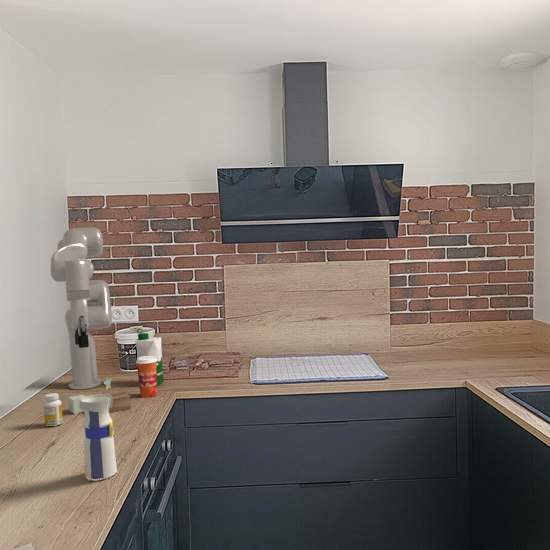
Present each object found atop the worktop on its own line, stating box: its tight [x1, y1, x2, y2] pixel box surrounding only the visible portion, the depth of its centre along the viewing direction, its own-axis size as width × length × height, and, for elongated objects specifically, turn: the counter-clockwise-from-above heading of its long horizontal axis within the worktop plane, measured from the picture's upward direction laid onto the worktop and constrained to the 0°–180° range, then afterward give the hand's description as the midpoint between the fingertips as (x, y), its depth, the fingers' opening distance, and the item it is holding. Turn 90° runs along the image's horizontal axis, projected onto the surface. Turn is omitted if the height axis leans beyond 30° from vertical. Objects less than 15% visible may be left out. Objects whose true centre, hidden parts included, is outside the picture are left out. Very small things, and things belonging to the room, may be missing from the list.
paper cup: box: [135, 356, 158, 398], centre depth 225 cm, size 8×8×14 cm
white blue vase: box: [79, 376, 118, 479], centre depth 152 cm, size 8×8×25 cm
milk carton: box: [134, 332, 164, 386], centre depth 242 cm, size 9×9×20 cm
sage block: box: [67, 394, 87, 413], centre depth 209 cm, size 5×5×5 cm
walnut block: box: [102, 389, 132, 414], centre depth 210 cm, size 10×10×5 cm
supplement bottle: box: [43, 392, 64, 426], centre depth 195 cm, size 5×5×10 cm
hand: (82, 345), depth 211 cm, fingers open, 9 cm apart
